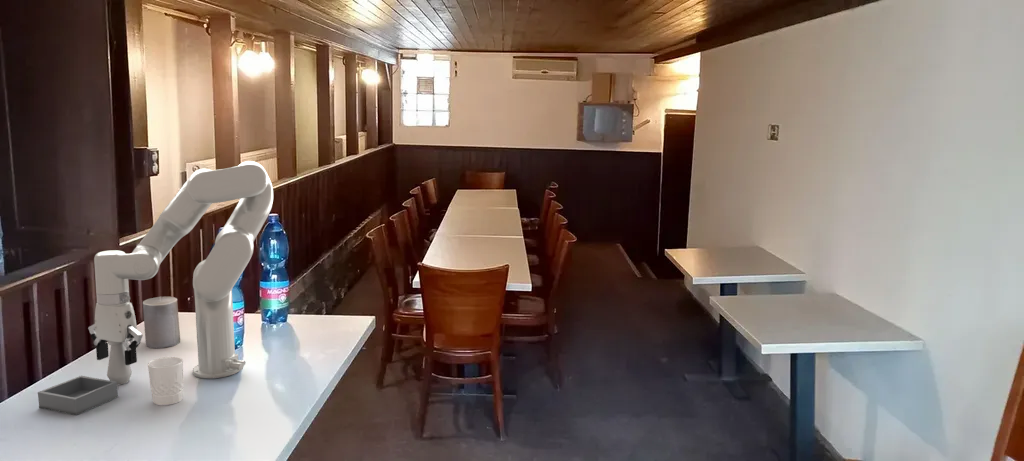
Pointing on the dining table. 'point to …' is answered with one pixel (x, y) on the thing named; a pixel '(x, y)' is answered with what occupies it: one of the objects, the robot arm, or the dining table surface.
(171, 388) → the white cup
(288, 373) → the dining table surface
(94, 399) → the box
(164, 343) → the pillar candle
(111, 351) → the salt shaker
